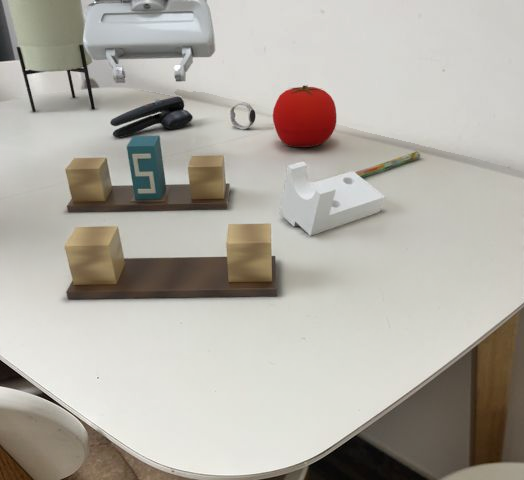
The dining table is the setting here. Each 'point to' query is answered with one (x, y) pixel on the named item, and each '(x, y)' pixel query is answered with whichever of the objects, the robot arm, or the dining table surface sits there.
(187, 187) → the board
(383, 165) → the pencil
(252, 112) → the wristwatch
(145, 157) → the letter S tile
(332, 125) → the tomato
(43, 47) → the planter
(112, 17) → the robot arm
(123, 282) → the board
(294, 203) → the bracket
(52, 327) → the dining table surface
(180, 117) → the can opener
